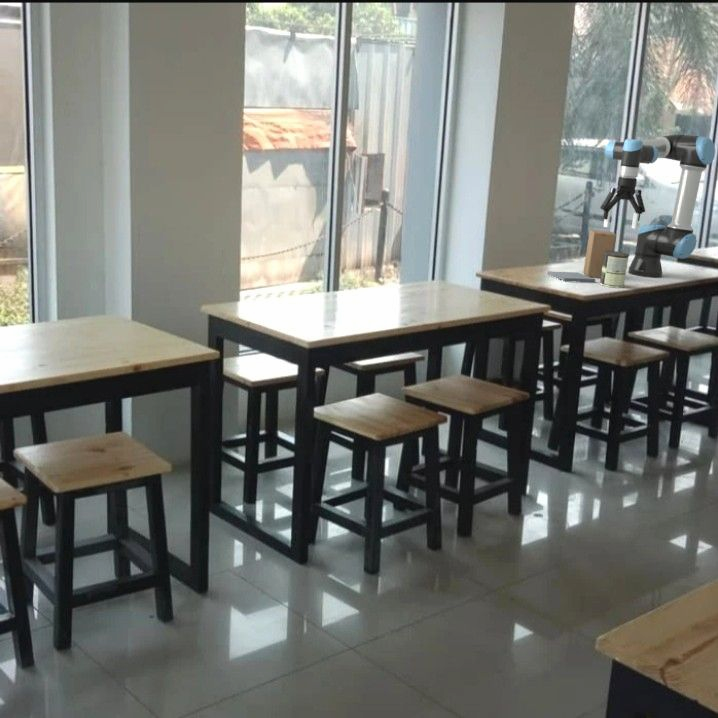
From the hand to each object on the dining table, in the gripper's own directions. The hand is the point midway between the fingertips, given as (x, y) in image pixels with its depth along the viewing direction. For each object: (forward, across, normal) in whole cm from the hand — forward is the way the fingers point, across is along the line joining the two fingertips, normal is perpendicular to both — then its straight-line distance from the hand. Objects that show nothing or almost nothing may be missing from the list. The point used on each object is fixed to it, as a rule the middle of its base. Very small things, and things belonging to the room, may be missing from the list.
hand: (619, 227), depth 438 cm
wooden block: (+25, -5, -21) cm, 33 cm away
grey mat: (+25, +12, -13) cm, 30 cm away
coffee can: (+25, 0, 0) cm, 25 cm away
